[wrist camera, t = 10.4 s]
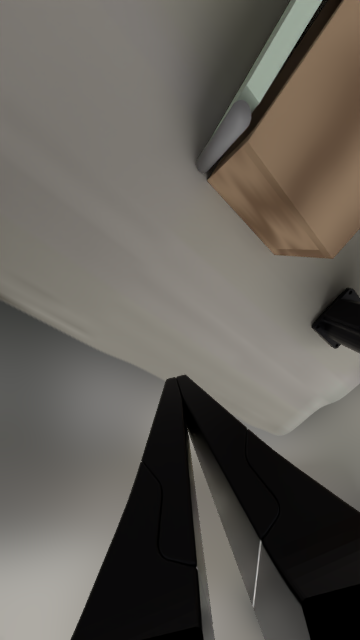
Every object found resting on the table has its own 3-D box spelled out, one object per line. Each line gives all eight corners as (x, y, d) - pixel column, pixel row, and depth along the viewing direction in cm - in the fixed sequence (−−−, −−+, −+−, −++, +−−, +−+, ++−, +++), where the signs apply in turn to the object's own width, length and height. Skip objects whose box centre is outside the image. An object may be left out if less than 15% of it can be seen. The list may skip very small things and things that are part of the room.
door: (339, -49, 12) (507, -297, 6) (204, 176, 15) (241, 137, 10) (323, -90, 11) (498, -411, 6) (184, 156, 14) (212, 101, 9)
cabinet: (388, 114, 16) (524, 43, 11) (274, 254, 19) (332, 258, 13) (340, -19, 13) (510, -242, 7) (207, 180, 15) (247, 141, 10)
